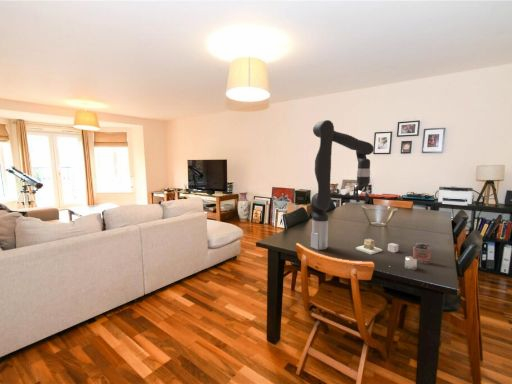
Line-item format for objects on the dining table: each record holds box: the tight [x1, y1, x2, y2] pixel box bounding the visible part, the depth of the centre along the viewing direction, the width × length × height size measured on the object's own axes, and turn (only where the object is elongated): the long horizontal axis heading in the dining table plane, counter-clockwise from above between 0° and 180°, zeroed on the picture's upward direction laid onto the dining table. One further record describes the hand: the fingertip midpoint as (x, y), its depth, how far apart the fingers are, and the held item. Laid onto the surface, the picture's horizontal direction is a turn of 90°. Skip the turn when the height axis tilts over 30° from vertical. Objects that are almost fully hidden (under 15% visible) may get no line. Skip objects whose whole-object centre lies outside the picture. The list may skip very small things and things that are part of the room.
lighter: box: [412, 242, 432, 265], centre depth 131 cm, size 8×3×10 cm, turn 69°
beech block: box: [363, 238, 375, 250], centre depth 148 cm, size 4×4×5 cm
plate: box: [355, 244, 383, 255], centre depth 149 cm, size 10×10×1 cm
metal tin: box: [404, 255, 418, 271], centre depth 124 cm, size 5×5×5 cm
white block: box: [387, 242, 399, 253], centre depth 147 cm, size 4×4×4 cm
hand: (362, 201), depth 159 cm, fingers open, 8 cm apart
